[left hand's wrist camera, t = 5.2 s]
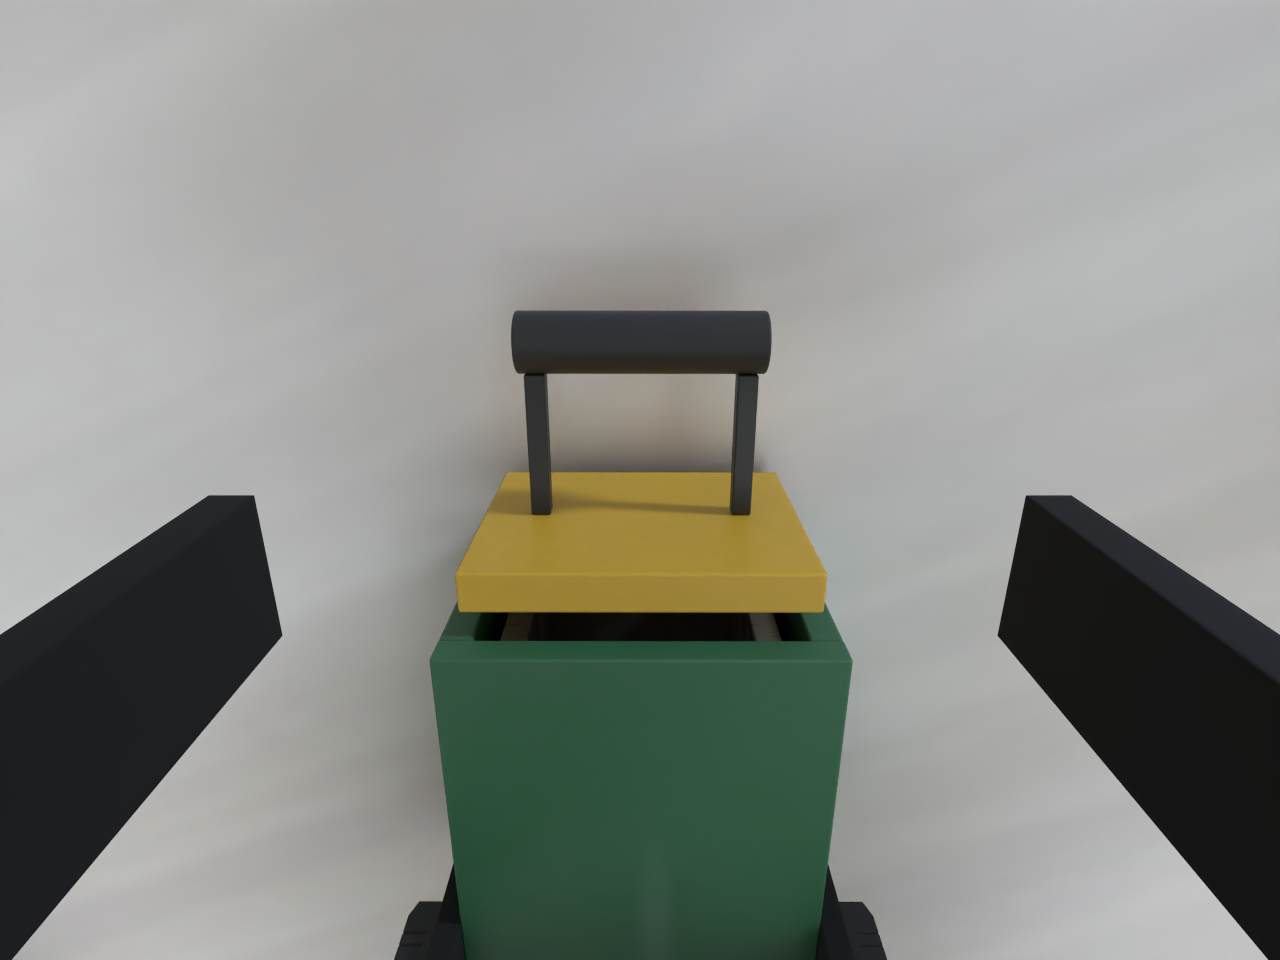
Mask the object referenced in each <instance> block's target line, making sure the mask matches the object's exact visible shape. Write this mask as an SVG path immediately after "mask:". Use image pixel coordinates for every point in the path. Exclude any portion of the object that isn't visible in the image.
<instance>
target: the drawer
mask: <svg viewBox="0 0 1280 960" xmlns="http://www.w3.org/2000/svg"><path fill="white" fill-rule="evenodd" d="M511 346H512V357H513V363H514V367H515V370H516V372H517V373H519V374H525V375H524V387H525V405H526V423H527V441H528V458H529V472H508V473H506V475H505V477H504V479H503V481H502V483H501V485H500V487H499V489H498V491H497V493H496V495H495V497H494V499H493V501H492V503H491V505H490V507H489V508H488V510H487V512H486V514H485V516H484V518H483V520H482V522H481V524H480V526H479V528H478V530H477V532H476V534H475V536H474V538H473V540H472V542H471V544H470V546H469V548H468V550H467V552H466V554H465V556H464V558H463V560H462V561H461V563H460V565H459V567H458V569H457V571H456V573H455V580H456V590H457V600H458V609H459V612H509V614H508V617H507V620H506V624H505V627H504V630H503V633H502V636H501V639H500V641H782V639H781V636H780V633H779V630H778V627H777V624H776V621H775V618H774V614H773V613H822V612H823V610H824V602H825V593H826V583H827V573H826V571H825V569H824V567H823V565H822V563H821V561H820V559H819V557H818V555H817V553H816V552H815V550H814V548H813V546H812V544H811V542H810V540H809V538H808V536H807V534H806V532H805V530H804V528H803V526H802V524H801V522H800V520H799V518H798V516H797V514H796V512H795V510H794V508H793V506H792V504H791V502H790V500H789V498H788V497H787V495H786V493H785V491H784V489H783V487H782V485H781V483H780V481H779V479H778V477H777V475H776V473H774V472H753V464H754V447H755V430H756V413H757V396H758V379H759V377H758V375H757V374H764V373H766V372H767V369H768V366H769V362H770V355H771V321H770V316H769V313H768V312H767V311H515V313H514V315H513V319H512V328H511ZM547 374H736V382H735V403H734V424H733V445H732V466H731V472H551V458H550V436H549V414H548V391H547Z"/></svg>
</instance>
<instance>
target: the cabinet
mask: <svg viewBox="0 0 1280 960" xmlns="http://www.w3.org/2000/svg"><path fill="white" fill-rule="evenodd" d="M508 614H509V612H459V609H458V601H457V603H456V605H455V608H454V610H453V612H452V614H451V616H450V618H449V620H448V623H447V625H446V627H445V629H444V631H443V633H442V635H441V637H440V640H439V642H438V643H437V646H436V648H435V650H434V652H433V654H432V656H431V658H430V668H431V676H432V685H433V693H434V701H435V710H436V718H437V727H438V735H439V743H440V752H441V760H442V768H443V777H444V785H445V793H446V802H447V810H448V819H449V827H450V835H451V844H452V852H453V860H454V869H455V877H456V885H457V894H458V902H459V911H460V919H461V927H462V935H463V944H464V952H465V960H816V955H817V947H818V939H819V931H820V923H821V915H822V907H823V899H824V890H825V882H826V874H827V866H828V858H829V850H830V841H831V833H832V825H833V817H834V809H835V800H836V792H837V784H838V776H839V768H840V760H841V751H842V743H843V735H844V727H845V719H846V711H847V702H848V694H849V686H850V678H851V670H852V659H851V656H850V654H849V652H848V650H847V648H846V646H845V644H844V642H843V641H842V638H841V636H840V634H839V632H838V630H837V627H836V625H835V623H834V621H833V619H832V617H831V615H830V612H829V610H828V608H827V606H826V604H825V602H824V610H823V612H822V613H773V614H774V618H775V621H776V624H777V627H778V630H779V633H780V636H781V639H782V641H500V639H501V636H502V633H503V630H504V627H505V624H506V620H507V617H508Z"/></svg>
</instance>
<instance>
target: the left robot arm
mask: <svg viewBox="0 0 1280 960" xmlns="http://www.w3.org/2000/svg"><path fill="white" fill-rule="evenodd" d="M281 637H282V631H281V626H280V621H279V616H278V611H277V606H276V601H275V597H274V592H273V587H272V582H271V577H270V572H269V567H268V562H267V557H266V552H265V547H264V542H263V537H262V532H261V528H260V523H259V518H258V513H257V508H256V503H255V498H254V496H207V497H206V498H204V499H203V500H201V501H200V502H198V503H197V504H195V505H194V506H192V507H191V508H189V509H188V510H186V511H185V512H183V513H182V514H180V515H179V516H177V517H176V518H174V519H173V520H171V521H170V522H168V523H167V524H165V525H164V526H162V527H161V528H159V529H158V530H156V531H155V532H153V533H152V534H150V535H149V536H147V537H146V538H144V539H143V540H141V541H140V542H138V543H137V544H135V545H134V546H132V547H131V548H129V549H128V550H126V551H125V552H123V553H122V554H120V555H119V556H117V557H116V558H115V559H113V560H112V561H110V562H109V563H107V564H106V565H104V566H103V567H101V568H100V569H98V570H97V571H95V572H94V573H92V574H91V575H89V576H88V577H86V578H85V579H83V580H82V581H80V582H79V583H77V584H76V585H74V586H73V587H71V588H70V589H68V590H67V591H65V592H64V593H62V594H61V595H59V596H58V597H56V598H55V599H53V600H52V601H50V602H49V603H47V604H46V605H44V606H43V607H41V608H40V609H38V610H37V611H35V612H34V613H32V614H31V615H29V616H28V617H26V618H25V619H23V620H22V621H20V622H19V623H17V624H16V625H14V626H13V627H11V628H10V629H8V630H7V631H5V632H4V633H2V634H1V635H0V960H12V959H13V958H14V956H15V955H16V954H17V953H18V952H19V950H20V949H21V948H22V947H23V946H24V944H25V943H26V942H27V941H28V940H29V938H30V937H31V936H32V935H33V934H34V932H35V931H36V930H37V929H38V928H39V926H40V925H41V924H42V923H43V922H44V920H45V919H46V918H47V917H48V916H49V914H50V913H51V912H52V911H53V910H54V908H55V907H56V906H57V905H58V904H59V902H60V901H61V900H62V899H63V898H64V896H65V895H66V894H67V893H68V892H69V890H70V889H71V888H72V887H73V886H74V884H75V883H76V882H77V881H78V880H79V879H80V877H81V876H82V875H83V874H84V873H85V871H86V870H87V869H88V868H89V867H90V865H91V864H92V863H93V862H94V861H95V859H96V858H97V857H98V856H99V855H100V853H101V852H102V851H103V850H104V849H105V847H106V846H107V845H108V844H109V843H110V841H111V840H112V839H113V838H114V837H115V835H116V834H117V833H118V832H119V831H120V829H121V828H122V827H123V826H124V825H125V823H126V822H127V821H128V820H129V819H130V817H131V816H132V815H133V814H134V813H135V811H136V810H137V809H138V808H139V807H140V805H141V804H142V803H143V802H144V801H145V799H146V798H147V797H148V796H149V795H150V793H151V792H152V791H153V790H154V789H155V788H156V786H157V785H158V784H159V783H160V782H161V780H162V779H163V778H164V777H165V776H166V774H167V773H168V772H169V771H170V770H171V768H172V767H173V766H174V765H175V764H176V762H177V761H178V760H179V759H180V758H181V756H182V755H183V754H184V753H185V752H186V750H187V749H188V748H189V747H190V746H191V744H192V743H193V742H194V741H195V740H196V738H197V737H198V736H199V735H200V734H201V732H202V731H203V730H204V729H205V728H206V726H207V725H208V724H209V723H210V722H211V720H212V719H213V718H214V717H215V716H216V714H217V713H218V712H219V711H220V710H221V708H222V707H223V706H224V705H225V704H226V702H227V701H228V700H229V699H230V698H231V697H232V695H233V694H234V693H235V692H236V691H237V689H238V688H239V687H240V686H241V685H242V683H243V682H244V681H245V680H246V679H247V677H248V676H249V675H250V674H251V673H252V671H253V670H254V669H255V668H256V667H257V665H258V664H259V663H260V662H261V661H262V659H263V658H264V657H265V656H266V655H267V653H268V652H269V651H270V650H271V649H272V647H273V646H274V645H275V644H276V643H277V641H278V640H279V639H280V638H281ZM998 637H999V638H1000V639H1001V640H1002V641H1003V643H1004V644H1005V645H1006V646H1007V647H1008V649H1009V650H1010V651H1011V652H1012V653H1013V655H1014V656H1015V657H1016V658H1017V659H1018V661H1019V662H1020V663H1021V664H1022V665H1023V667H1024V668H1025V669H1026V670H1027V671H1028V673H1029V674H1030V675H1031V676H1032V677H1033V679H1034V680H1035V681H1036V682H1037V683H1038V685H1039V686H1040V687H1041V688H1042V689H1043V690H1044V692H1045V693H1046V694H1047V695H1048V696H1049V698H1050V699H1051V700H1052V701H1053V702H1054V704H1055V705H1056V706H1057V707H1058V708H1059V710H1060V711H1061V712H1062V713H1063V714H1064V716H1065V717H1066V718H1067V719H1068V720H1069V722H1070V723H1071V724H1072V725H1073V726H1074V728H1075V729H1076V730H1077V731H1078V732H1079V734H1080V735H1081V736H1082V737H1083V738H1084V740H1085V741H1086V742H1087V743H1088V744H1089V746H1090V747H1091V748H1092V749H1093V750H1094V752H1095V753H1096V754H1097V755H1098V756H1099V758H1100V759H1101V760H1102V761H1103V762H1104V764H1105V765H1106V766H1107V767H1108V768H1109V770H1110V771H1111V772H1112V773H1113V774H1114V776H1115V777H1116V778H1117V779H1118V780H1119V781H1120V783H1121V784H1122V785H1123V786H1124V787H1125V789H1126V790H1127V791H1128V792H1129V793H1130V795H1131V796H1132V797H1133V798H1134V799H1135V801H1136V802H1137V803H1138V804H1139V805H1140V807H1141V808H1142V809H1143V810H1144V811H1145V813H1146V814H1147V815H1148V816H1149V817H1150V819H1151V820H1152V821H1153V822H1154V823H1155V825H1156V826H1157V827H1158V828H1159V829H1160V831H1161V832H1162V833H1163V834H1164V835H1165V837H1166V838H1167V839H1168V840H1169V841H1170V843H1171V844H1172V845H1173V846H1174V847H1175V849H1176V850H1177V851H1178V852H1179V853H1180V855H1181V856H1182V857H1183V858H1184V859H1185V861H1186V862H1187V863H1188V864H1189V865H1190V866H1191V868H1192V869H1193V870H1194V871H1195V872H1196V874H1197V875H1198V876H1199V877H1200V878H1201V880H1202V881H1203V882H1204V883H1205V884H1206V886H1207V887H1208V888H1209V889H1210V890H1211V892H1212V893H1213V894H1214V895H1215V896H1216V898H1217V899H1218V900H1219V901H1220V902H1221V904H1222V905H1223V906H1224V907H1225V908H1226V910H1227V911H1228V912H1229V913H1230V914H1231V916H1232V917H1233V918H1234V919H1235V920H1236V922H1237V923H1238V924H1239V925H1240V926H1241V928H1242V929H1243V930H1244V931H1245V932H1246V934H1247V935H1248V936H1249V937H1250V938H1251V940H1252V941H1253V942H1254V943H1255V944H1256V946H1257V947H1258V948H1259V949H1260V950H1261V952H1262V953H1263V954H1264V955H1265V956H1266V957H1267V959H1268V960H1280V635H1279V634H1278V633H1276V632H1275V631H1273V630H1272V629H1270V628H1269V627H1267V626H1266V625H1264V624H1263V623H1261V622H1260V621H1258V620H1257V619H1255V618H1254V617H1252V616H1251V615H1249V614H1248V613H1246V612H1245V611H1243V610H1242V609H1240V608H1239V607H1237V606H1236V605H1234V604H1233V603H1231V602H1230V601H1228V600H1227V599H1225V598H1224V597H1222V596H1221V595H1219V594H1218V593H1216V592H1215V591H1213V590H1212V589H1210V588H1209V587H1207V586H1206V585H1204V584H1203V583H1201V582H1200V581H1198V580H1197V579H1195V578H1194V577H1192V576H1191V575H1189V574H1188V573H1186V572H1185V571H1183V570H1182V569H1180V568H1179V567H1177V566H1176V565H1175V564H1173V563H1172V562H1170V561H1169V560H1167V559H1166V558H1164V557H1163V556H1161V555H1160V554H1158V553H1157V552H1155V551H1154V550H1152V549H1151V548H1149V547H1148V546H1146V545H1145V544H1143V543H1142V542H1140V541H1139V540H1137V539H1136V538H1134V537H1133V536H1131V535H1130V534H1128V533H1127V532H1125V531H1124V530H1122V529H1121V528H1119V527H1118V526H1116V525H1115V524H1113V523H1112V522H1110V521H1109V520H1107V519H1106V518H1104V517H1103V516H1101V515H1100V514H1098V513H1097V512H1095V511H1094V510H1092V509H1091V508H1089V507H1088V506H1086V505H1085V504H1083V503H1082V502H1080V501H1079V500H1077V499H1076V498H1074V497H1073V496H1026V498H1025V503H1024V508H1023V513H1022V518H1021V523H1020V528H1019V533H1018V538H1017V542H1016V547H1015V552H1014V557H1013V562H1012V567H1011V572H1010V577H1009V582H1008V587H1007V592H1006V597H1005V602H1004V607H1003V611H1002V616H1001V621H1000V626H999V631H998Z"/></svg>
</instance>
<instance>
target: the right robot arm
mask: <svg viewBox="0 0 1280 960" xmlns="http://www.w3.org/2000/svg"><path fill="white" fill-rule="evenodd" d="M394 960H465V952H464V944H463V935H462V927H461V919H460V911H459V902H458V894H457V885H456V877H455V869H454V864H453V867H452V871H451V874H450V878H449V881H448V885H447V888H446V892H445V895H444V899H443V902H435V901H419V903H418V904H417V905H416V907H415V908H414V909H413V911H412V912H411V913H410V914H409V916H408V919H407V922H406V925H405V928H404V931H403V934H402V937H401V940H400V943H399V947H398V949H397V953H396V956H395V959H394ZM816 960H887V958H886V955H885V952H884V948H883V947H882V942H881V939H880V936H879V935H878V930H877V927H876V924H875V921H874V918H873V915H872V914H871V913H870V912H869V910H868V909H867V908H866V906H865V905H864V904H863V902H838V898H837V894H836V891H835V887H834V884H833V880H832V877H831V873H830V870H829V866H827V874H826V882H825V890H824V899H823V907H822V915H821V923H820V931H819V939H818V947H817V955H816Z"/></svg>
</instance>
